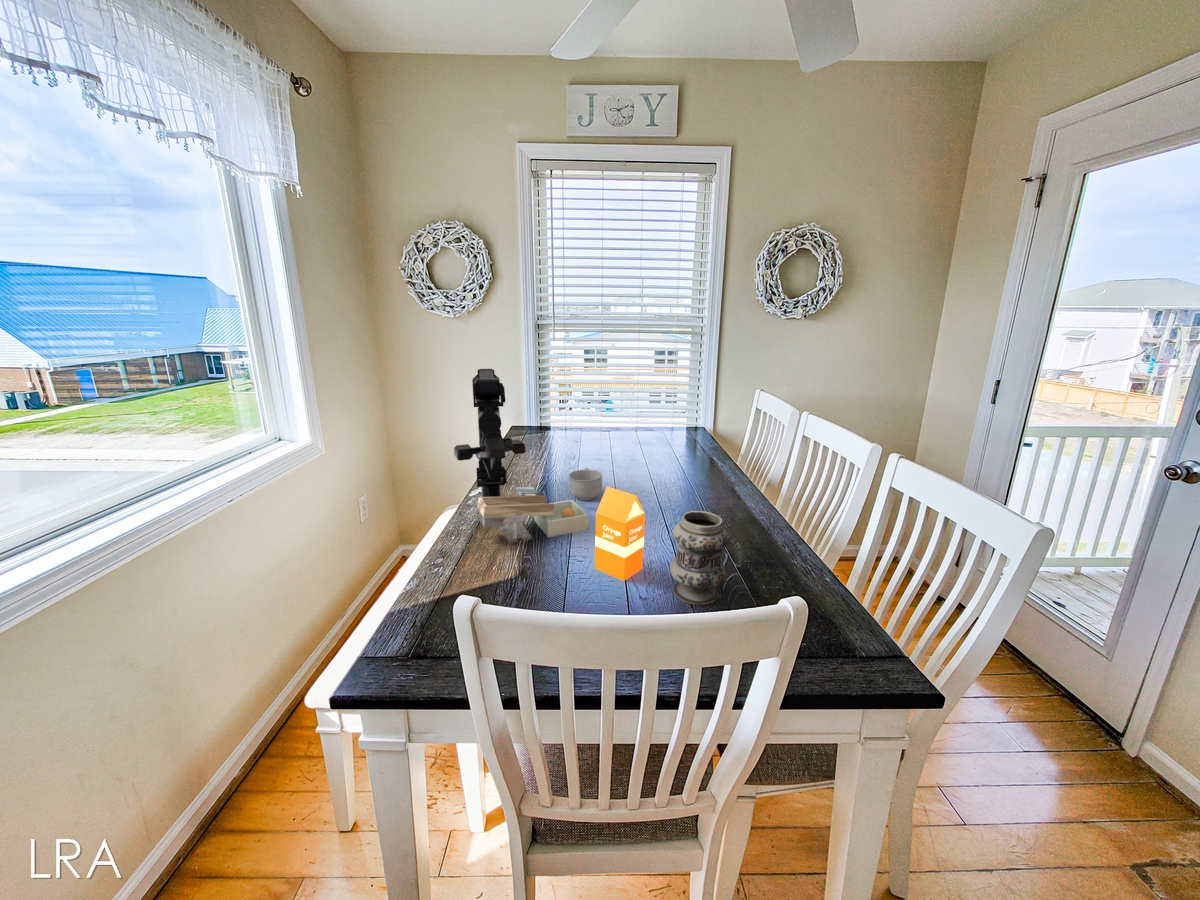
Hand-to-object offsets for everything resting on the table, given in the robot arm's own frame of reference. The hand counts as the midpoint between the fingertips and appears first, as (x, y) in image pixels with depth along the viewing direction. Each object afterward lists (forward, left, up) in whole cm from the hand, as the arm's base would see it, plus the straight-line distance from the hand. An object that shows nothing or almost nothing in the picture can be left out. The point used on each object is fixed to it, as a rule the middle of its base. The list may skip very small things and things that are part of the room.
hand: (491, 478), depth 140 cm
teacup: (-8, +33, -13) cm, 36 cm away
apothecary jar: (+54, +32, -13) cm, 64 cm away
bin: (+10, +17, -13) cm, 24 cm away
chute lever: (+5, +3, -10) cm, 11 cm away
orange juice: (+38, +21, -13) cm, 45 cm away
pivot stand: (+10, +3, -13) cm, 17 cm away
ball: (+10, +19, -10) cm, 24 cm away
